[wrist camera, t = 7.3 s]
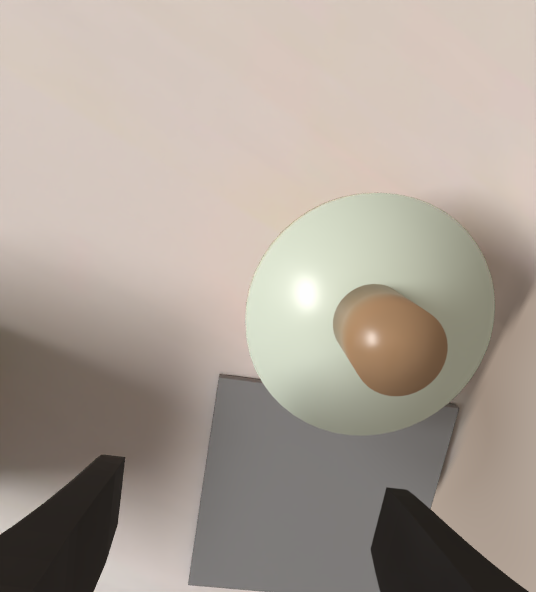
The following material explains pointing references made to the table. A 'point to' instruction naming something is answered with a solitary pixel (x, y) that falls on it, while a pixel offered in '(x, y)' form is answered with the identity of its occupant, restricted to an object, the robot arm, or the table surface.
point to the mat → (301, 494)
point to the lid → (369, 313)
